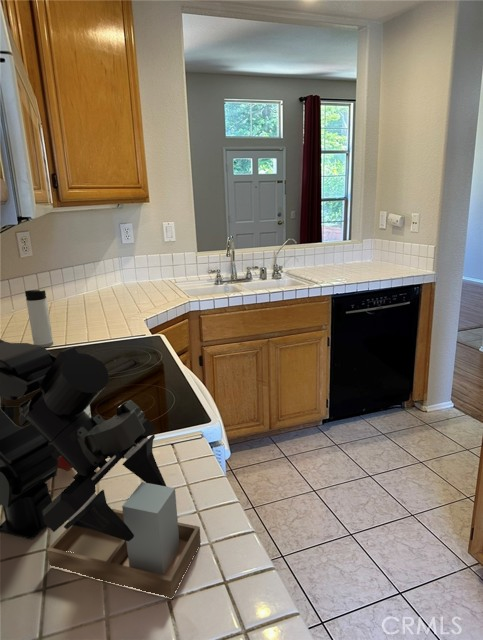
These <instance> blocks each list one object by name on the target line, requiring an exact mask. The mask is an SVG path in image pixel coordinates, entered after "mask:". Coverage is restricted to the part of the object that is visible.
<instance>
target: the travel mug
mask: <svg viewBox="0 0 483 640" xmlns="http://www.w3.org/2000/svg"><path fill="white" fill-rule="evenodd" d="M24 293H25V297H26V299H25V300H26V307H27V313H28V318H29V324H30V331H31V336H32V341H33V342H32V344H33V345H37V346H41V347H44V348H49V347H51V346H53V344H54V338H53V332H52V325H51V319H50V311H49V306H48V300H47V293H46V290H45V289H43V290H40V289H34V290H33V289H29V290H25V291H24Z"/></svg>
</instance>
